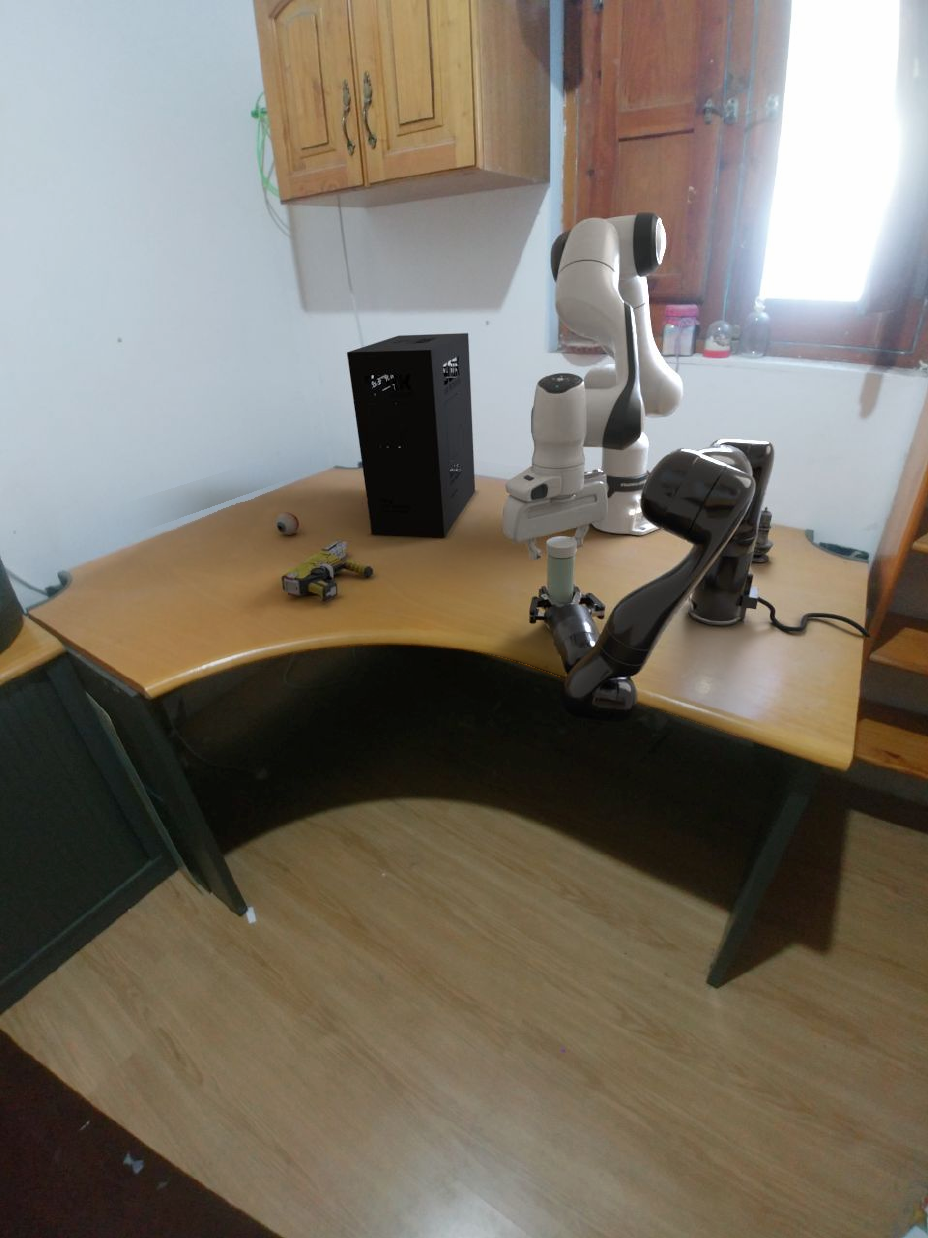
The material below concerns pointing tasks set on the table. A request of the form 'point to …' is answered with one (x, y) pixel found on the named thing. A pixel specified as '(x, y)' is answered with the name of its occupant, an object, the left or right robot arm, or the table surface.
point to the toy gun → (321, 572)
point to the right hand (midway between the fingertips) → (557, 589)
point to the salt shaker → (763, 537)
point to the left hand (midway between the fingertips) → (555, 552)
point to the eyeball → (287, 523)
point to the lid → (561, 547)
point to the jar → (560, 578)
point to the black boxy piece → (414, 431)
